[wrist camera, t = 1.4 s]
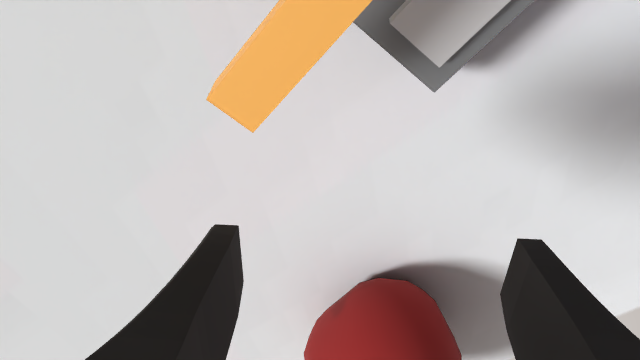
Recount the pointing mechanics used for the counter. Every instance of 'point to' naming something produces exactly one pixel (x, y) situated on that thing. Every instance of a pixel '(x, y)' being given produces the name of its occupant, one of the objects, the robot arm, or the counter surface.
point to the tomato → (382, 326)
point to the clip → (280, 56)
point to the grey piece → (436, 32)
